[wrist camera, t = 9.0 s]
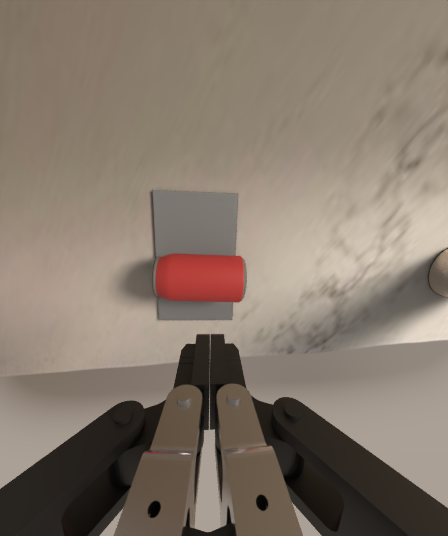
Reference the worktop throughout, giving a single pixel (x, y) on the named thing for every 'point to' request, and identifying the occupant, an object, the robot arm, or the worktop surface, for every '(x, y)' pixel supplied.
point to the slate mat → (195, 241)
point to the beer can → (199, 278)
